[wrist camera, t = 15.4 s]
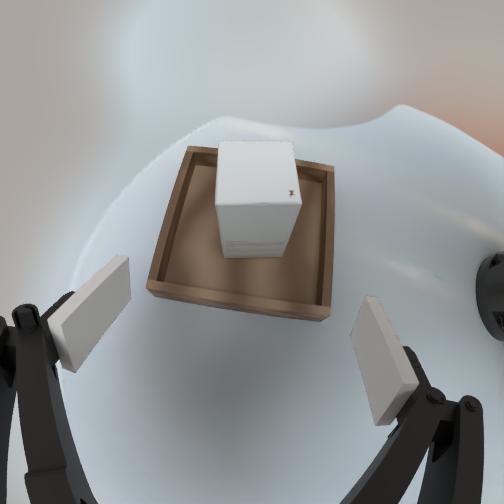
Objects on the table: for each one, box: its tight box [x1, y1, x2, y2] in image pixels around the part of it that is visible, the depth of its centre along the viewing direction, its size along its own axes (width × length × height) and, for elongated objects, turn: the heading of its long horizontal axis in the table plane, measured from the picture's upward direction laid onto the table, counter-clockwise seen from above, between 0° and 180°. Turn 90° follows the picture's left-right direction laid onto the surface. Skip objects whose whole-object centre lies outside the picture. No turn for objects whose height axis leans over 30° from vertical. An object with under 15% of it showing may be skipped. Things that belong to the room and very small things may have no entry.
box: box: [146, 146, 335, 322], centre depth 36 cm, size 20×20×4 cm
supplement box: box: [215, 141, 302, 258], centre depth 31 cm, size 7×7×13 cm
